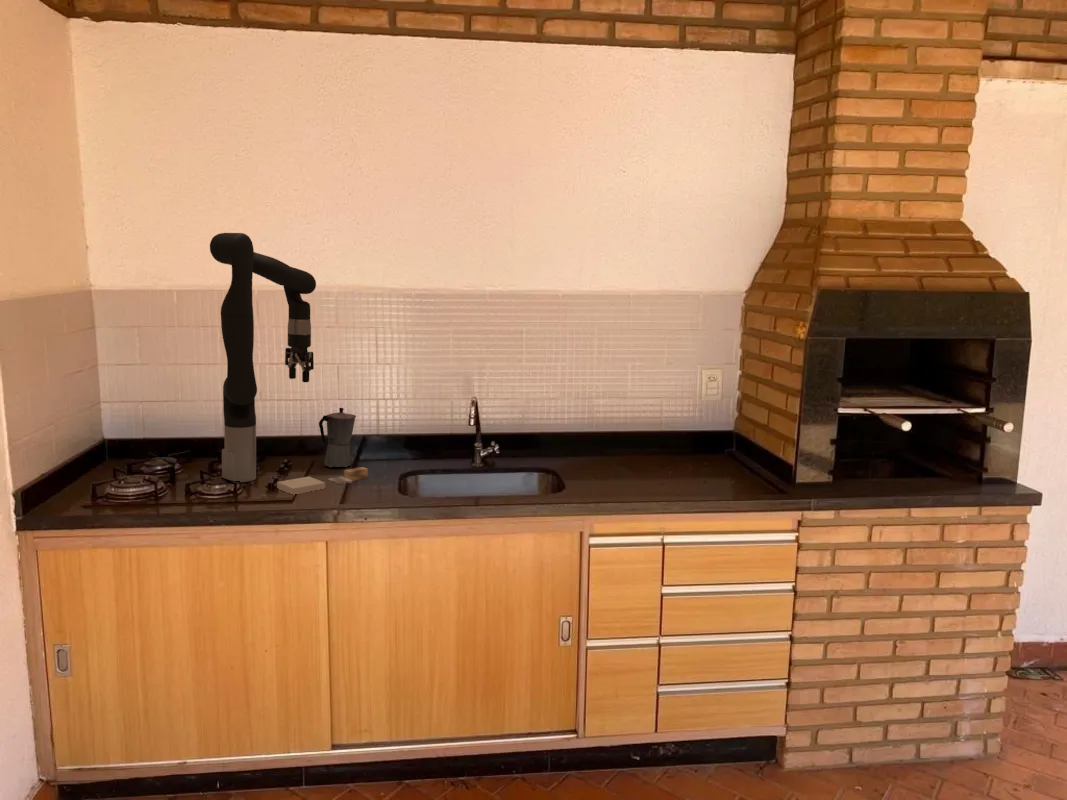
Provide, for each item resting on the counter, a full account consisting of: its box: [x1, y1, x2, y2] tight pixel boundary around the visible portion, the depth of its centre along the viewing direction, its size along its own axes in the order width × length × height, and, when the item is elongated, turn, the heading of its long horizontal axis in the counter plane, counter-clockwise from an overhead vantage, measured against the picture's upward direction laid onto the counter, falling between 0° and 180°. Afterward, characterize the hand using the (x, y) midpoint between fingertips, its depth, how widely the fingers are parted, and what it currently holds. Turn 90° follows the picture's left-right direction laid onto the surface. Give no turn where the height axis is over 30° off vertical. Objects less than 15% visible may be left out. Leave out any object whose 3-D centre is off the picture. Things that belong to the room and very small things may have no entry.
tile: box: [276, 476, 326, 496], centre depth 245 cm, size 2×9×11 cm
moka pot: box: [318, 407, 357, 468], centre depth 273 cm, size 10×15×20 cm, turn 148°
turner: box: [327, 466, 369, 484], centre depth 258 cm, size 12×6×3 cm, turn 137°
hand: (299, 380), depth 273 cm, fingers open, 8 cm apart
